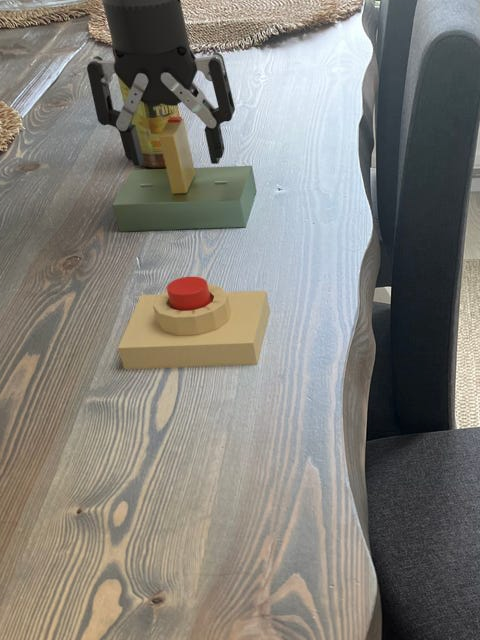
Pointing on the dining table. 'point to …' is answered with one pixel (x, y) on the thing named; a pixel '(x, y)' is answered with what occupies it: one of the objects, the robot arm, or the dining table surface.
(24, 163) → the dining table surface
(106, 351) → the dining table surface
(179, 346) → the block
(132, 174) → the plate
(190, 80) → the robot arm
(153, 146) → the sauce bottle
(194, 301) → the button
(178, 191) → the handle
